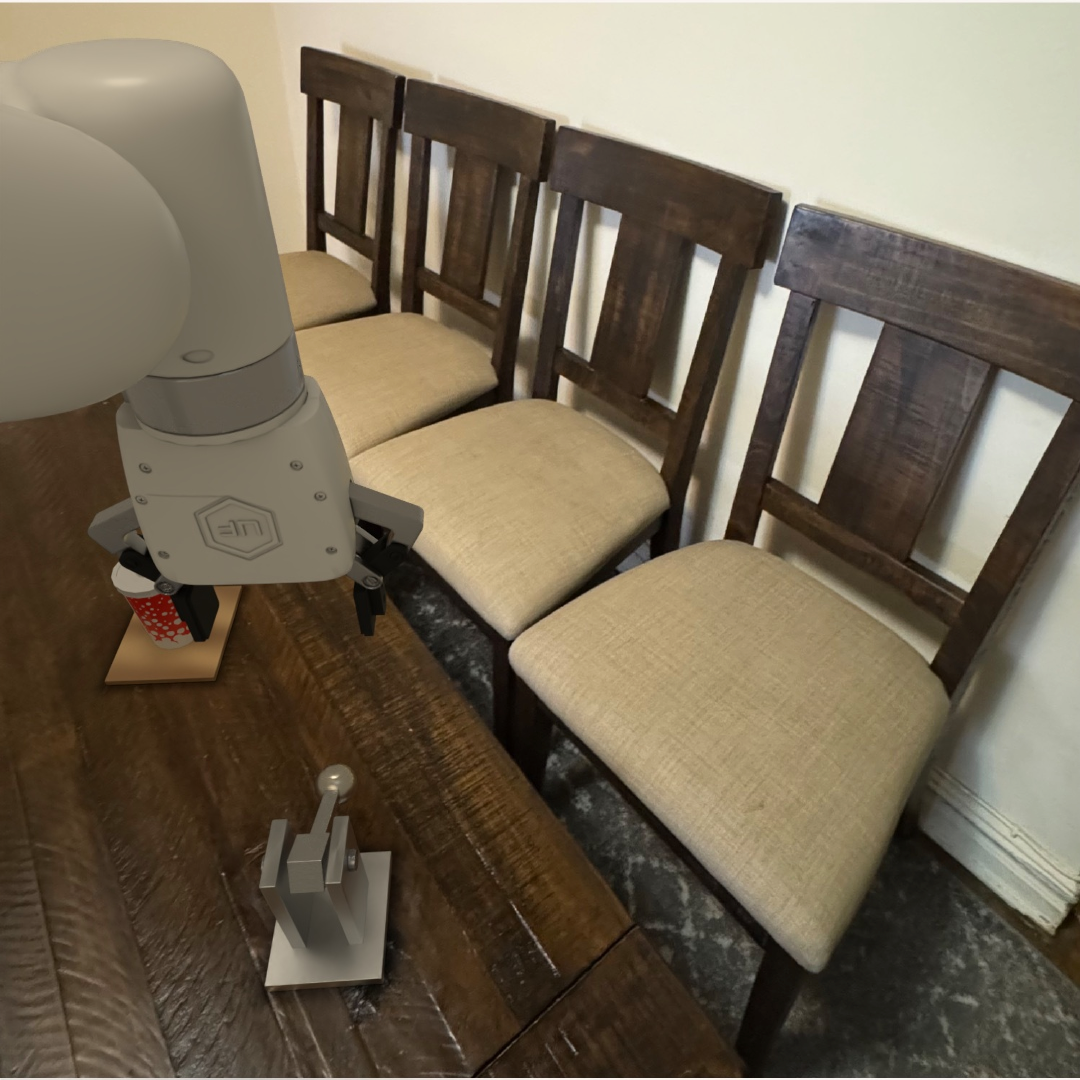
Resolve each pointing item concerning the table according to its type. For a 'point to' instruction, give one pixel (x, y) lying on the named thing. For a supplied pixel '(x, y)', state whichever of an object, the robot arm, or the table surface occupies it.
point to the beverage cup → (152, 609)
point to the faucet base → (327, 914)
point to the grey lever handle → (320, 830)
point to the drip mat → (174, 650)
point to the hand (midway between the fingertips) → (290, 621)
